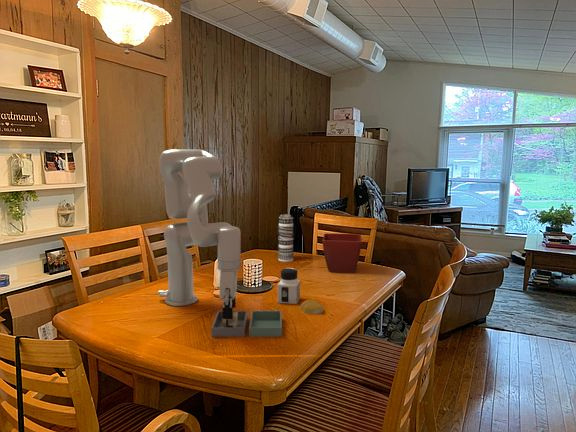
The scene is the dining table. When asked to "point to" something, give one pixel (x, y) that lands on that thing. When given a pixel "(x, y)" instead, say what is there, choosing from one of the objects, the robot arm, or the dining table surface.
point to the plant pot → (342, 251)
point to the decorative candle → (285, 238)
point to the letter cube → (231, 321)
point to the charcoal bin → (229, 331)
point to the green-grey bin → (265, 324)
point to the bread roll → (311, 307)
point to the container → (289, 287)
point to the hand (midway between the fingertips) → (229, 312)
